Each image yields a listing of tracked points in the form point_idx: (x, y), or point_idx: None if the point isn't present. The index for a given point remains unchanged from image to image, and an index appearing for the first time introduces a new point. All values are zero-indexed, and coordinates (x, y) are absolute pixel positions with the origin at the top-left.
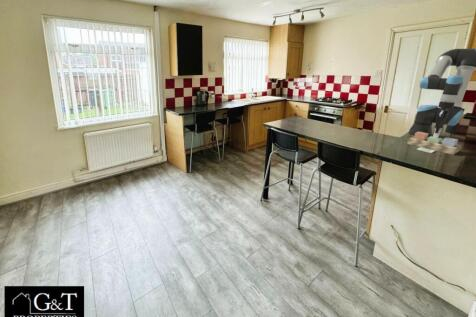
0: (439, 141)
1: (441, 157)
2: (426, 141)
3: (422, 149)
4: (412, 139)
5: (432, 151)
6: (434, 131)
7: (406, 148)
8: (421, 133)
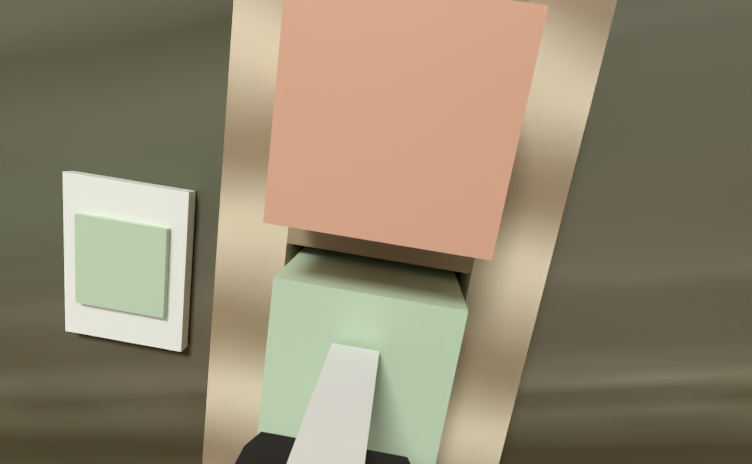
0: None
1: (14, 417)
2: (269, 249)
3: (75, 233)
4: (234, 24)
5: (113, 335)
6: (298, 433)
7: (5, 52)
8: (334, 121)
